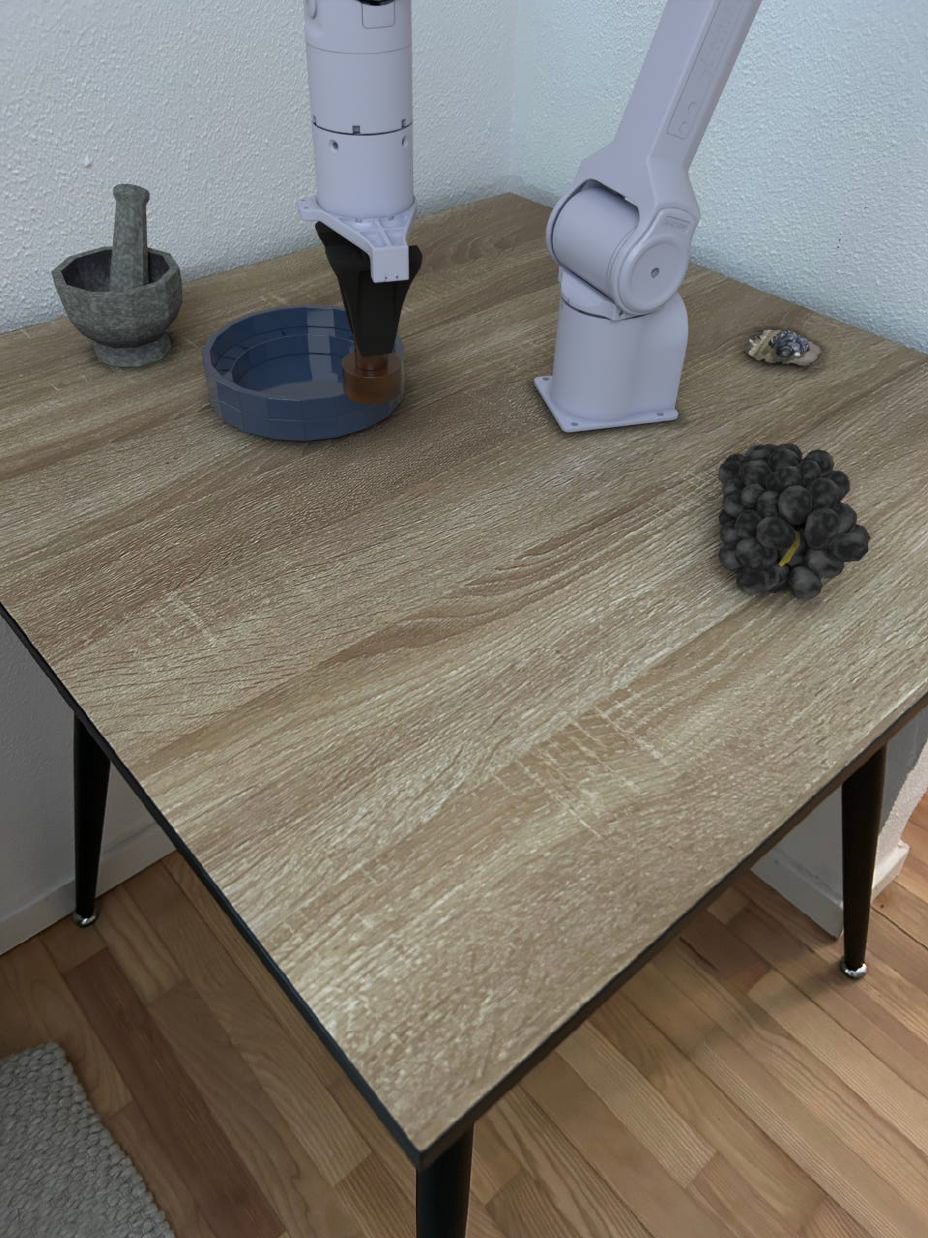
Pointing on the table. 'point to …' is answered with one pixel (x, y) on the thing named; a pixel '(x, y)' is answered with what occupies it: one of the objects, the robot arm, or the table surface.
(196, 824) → the table surface
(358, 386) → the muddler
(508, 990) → the table surface
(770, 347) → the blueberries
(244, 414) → the bowl
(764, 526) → the fruit
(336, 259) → the robot arm
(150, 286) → the mortar and pestle
